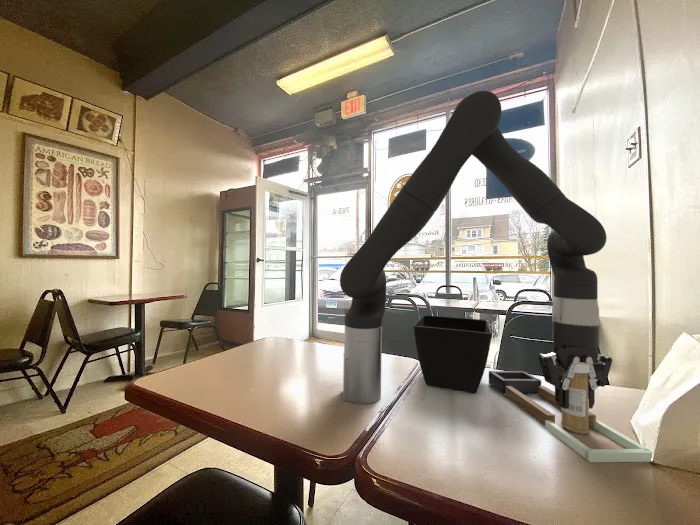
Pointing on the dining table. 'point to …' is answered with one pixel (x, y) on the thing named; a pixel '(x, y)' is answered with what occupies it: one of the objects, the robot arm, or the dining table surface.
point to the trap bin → (514, 381)
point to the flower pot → (452, 351)
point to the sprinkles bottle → (577, 401)
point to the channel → (535, 408)
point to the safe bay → (630, 454)
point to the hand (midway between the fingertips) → (574, 406)
